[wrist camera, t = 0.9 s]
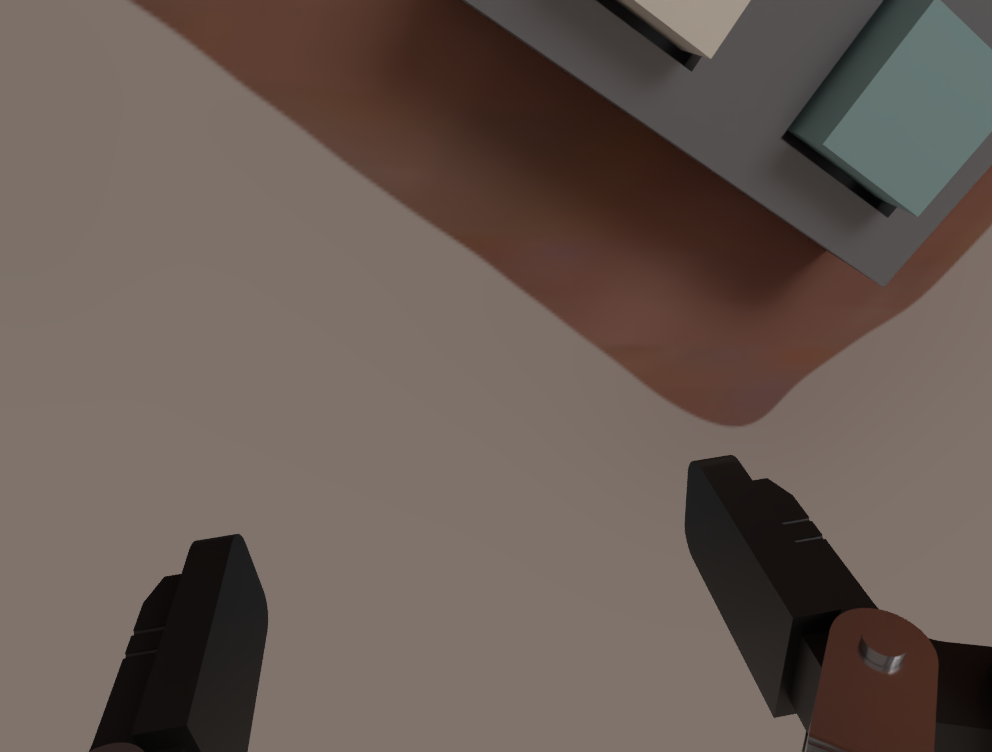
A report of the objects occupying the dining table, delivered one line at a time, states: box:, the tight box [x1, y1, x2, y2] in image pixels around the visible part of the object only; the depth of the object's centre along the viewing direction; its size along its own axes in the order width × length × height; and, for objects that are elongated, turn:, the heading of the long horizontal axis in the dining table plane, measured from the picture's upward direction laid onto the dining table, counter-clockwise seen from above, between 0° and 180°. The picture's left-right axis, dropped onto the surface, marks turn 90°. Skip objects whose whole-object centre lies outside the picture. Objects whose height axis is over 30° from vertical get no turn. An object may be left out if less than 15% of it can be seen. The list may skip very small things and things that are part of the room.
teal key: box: [787, 0, 992, 217], centre depth 29 cm, size 6×6×3 cm
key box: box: [461, 0, 992, 287], centre depth 30 cm, size 12×24×5 cm, turn 58°
